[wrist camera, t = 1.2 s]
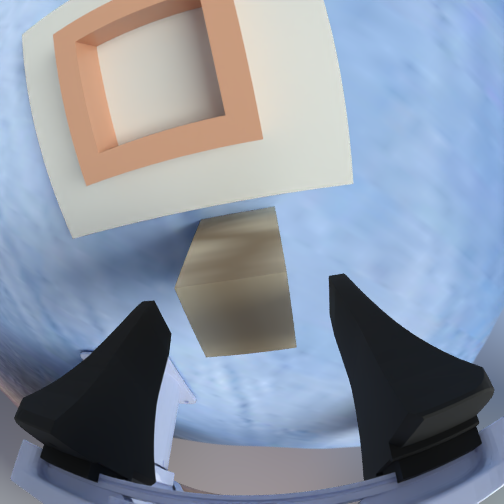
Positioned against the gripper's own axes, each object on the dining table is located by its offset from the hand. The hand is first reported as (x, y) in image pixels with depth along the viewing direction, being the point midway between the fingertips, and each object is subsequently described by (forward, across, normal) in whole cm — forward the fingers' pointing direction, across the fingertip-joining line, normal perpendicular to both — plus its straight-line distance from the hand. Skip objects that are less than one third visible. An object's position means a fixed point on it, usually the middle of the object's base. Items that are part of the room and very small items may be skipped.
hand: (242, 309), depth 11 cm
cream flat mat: (+5, +2, -10) cm, 11 cm away
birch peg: (+5, 0, 0) cm, 5 cm away
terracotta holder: (+4, +2, -10) cm, 11 cm away
